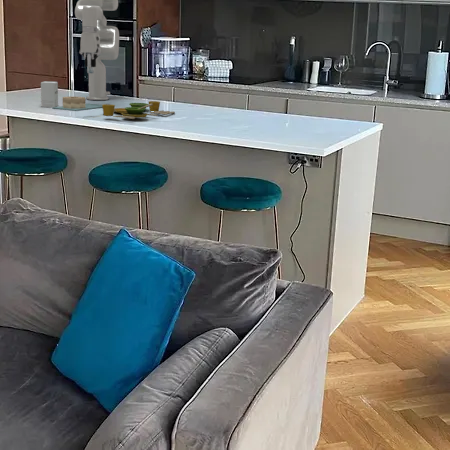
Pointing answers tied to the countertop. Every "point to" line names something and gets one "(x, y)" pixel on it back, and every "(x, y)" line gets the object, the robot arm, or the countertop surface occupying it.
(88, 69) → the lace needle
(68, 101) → the tan box
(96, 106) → the mat
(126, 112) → the tableware set
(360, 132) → the countertop surface
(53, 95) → the supplement box
